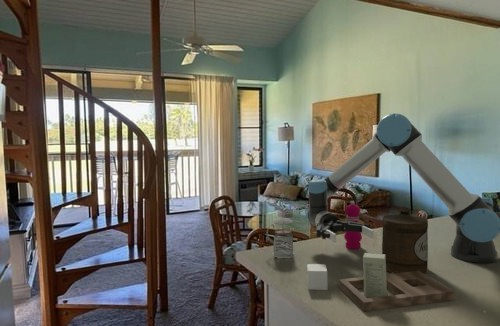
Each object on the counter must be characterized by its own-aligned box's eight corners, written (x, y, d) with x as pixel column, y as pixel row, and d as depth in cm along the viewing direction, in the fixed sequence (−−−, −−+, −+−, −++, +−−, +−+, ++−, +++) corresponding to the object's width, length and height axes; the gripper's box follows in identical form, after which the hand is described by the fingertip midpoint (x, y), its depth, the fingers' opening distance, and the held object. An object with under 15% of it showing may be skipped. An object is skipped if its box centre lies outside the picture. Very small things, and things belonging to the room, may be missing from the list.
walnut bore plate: (418, 278, 116) (418, 270, 116) (454, 299, 100) (455, 291, 100) (338, 287, 111) (338, 279, 111) (364, 311, 95) (364, 302, 95)
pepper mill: (343, 248, 148) (342, 202, 147) (345, 243, 155) (344, 199, 154) (361, 250, 146) (360, 202, 144) (362, 245, 152) (362, 199, 151)
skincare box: (387, 294, 105) (386, 254, 104) (386, 300, 101) (386, 258, 100) (364, 290, 108) (364, 251, 107) (362, 296, 104) (362, 256, 103)
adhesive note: (327, 290, 109) (327, 271, 109) (308, 289, 110) (307, 270, 110) (325, 282, 115) (325, 264, 115) (307, 281, 116) (307, 264, 116)
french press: (294, 259, 138) (293, 196, 136) (265, 258, 140) (263, 196, 138) (296, 251, 147) (295, 192, 146) (269, 250, 150) (267, 192, 148)
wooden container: (430, 278, 115) (430, 212, 114) (382, 273, 121) (381, 210, 119) (425, 263, 129) (425, 204, 128) (382, 259, 134) (381, 202, 133)
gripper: (357, 228, 140) (388, 243, 120) (298, 234, 136) (319, 251, 115) (357, 210, 140) (387, 221, 119) (297, 215, 135) (318, 228, 114)
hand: (354, 236), depth 117 cm, fingers open, 13 cm apart
